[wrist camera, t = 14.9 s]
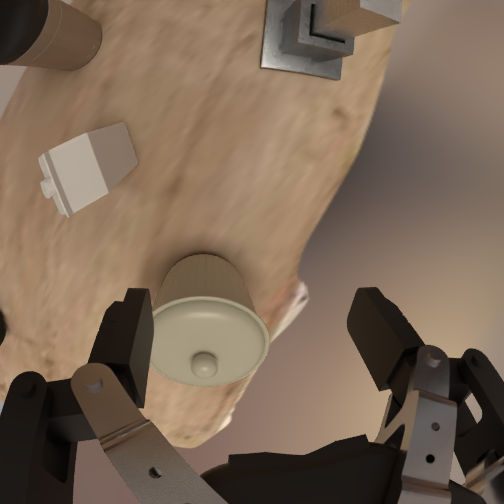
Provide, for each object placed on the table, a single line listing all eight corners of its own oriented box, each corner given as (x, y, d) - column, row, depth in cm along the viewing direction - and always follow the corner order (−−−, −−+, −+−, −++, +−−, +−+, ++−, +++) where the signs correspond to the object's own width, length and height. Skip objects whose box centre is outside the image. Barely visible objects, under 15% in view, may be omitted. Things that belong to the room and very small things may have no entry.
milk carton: (125, 121, 38) (70, 137, 21) (139, 163, 41) (96, 206, 25) (85, 138, 38) (18, 167, 21) (100, 179, 42) (44, 228, 25)
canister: (135, 286, 52) (110, 376, 33) (196, 215, 47) (190, 295, 29) (210, 333, 59) (214, 421, 41) (274, 276, 54) (304, 364, 36)
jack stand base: (259, 67, 37) (274, 58, 28) (266, -1, 31) (282, -26, 22) (336, 80, 39) (369, 77, 30) (341, 14, 33) (374, -2, 24)
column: (302, 38, 30) (360, 7, 16) (304, 13, 28) (361, -29, 14) (331, 45, 30) (401, 22, 16) (333, 19, 28) (401, -13, 15)
